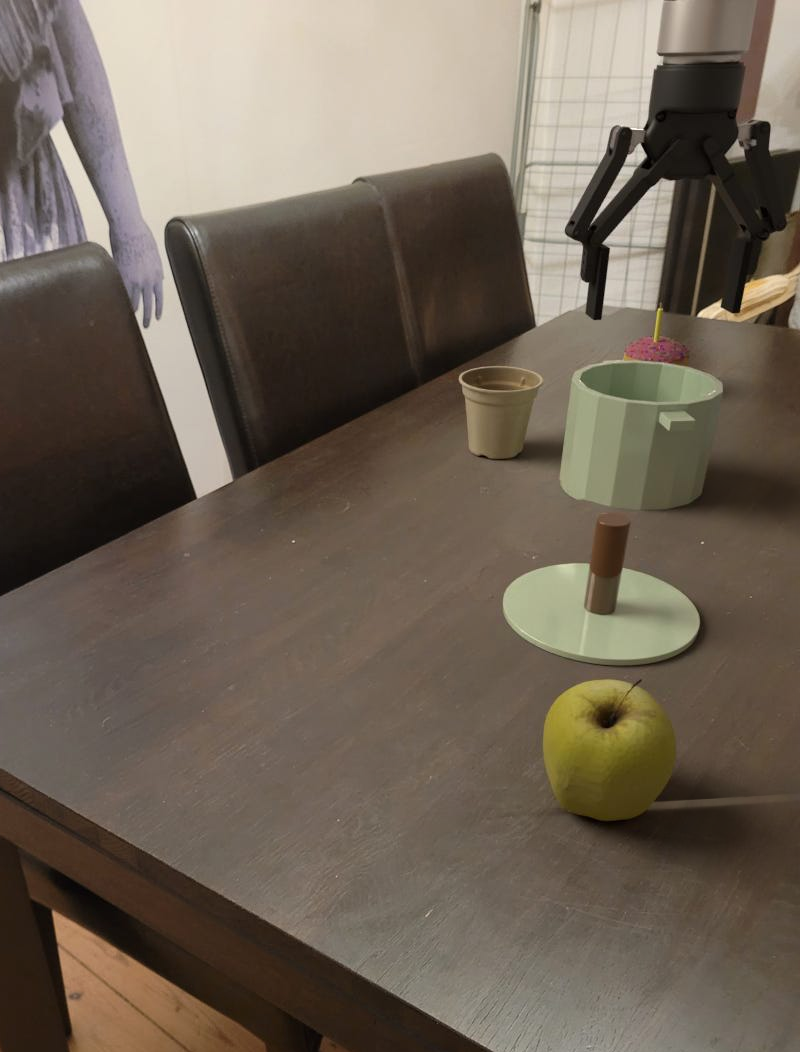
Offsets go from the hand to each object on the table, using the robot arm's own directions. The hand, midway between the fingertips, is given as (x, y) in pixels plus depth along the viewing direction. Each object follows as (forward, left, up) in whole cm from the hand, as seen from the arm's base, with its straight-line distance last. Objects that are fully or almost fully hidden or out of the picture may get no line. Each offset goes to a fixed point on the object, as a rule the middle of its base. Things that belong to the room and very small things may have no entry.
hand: (661, 313), depth 94 cm
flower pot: (+12, -12, -18) cm, 25 cm away
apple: (+19, +49, -18) cm, 56 cm away
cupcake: (-14, -32, -18) cm, 39 cm away
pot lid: (+12, +27, -18) cm, 34 cm away
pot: (0, 0, -18) cm, 18 cm away
